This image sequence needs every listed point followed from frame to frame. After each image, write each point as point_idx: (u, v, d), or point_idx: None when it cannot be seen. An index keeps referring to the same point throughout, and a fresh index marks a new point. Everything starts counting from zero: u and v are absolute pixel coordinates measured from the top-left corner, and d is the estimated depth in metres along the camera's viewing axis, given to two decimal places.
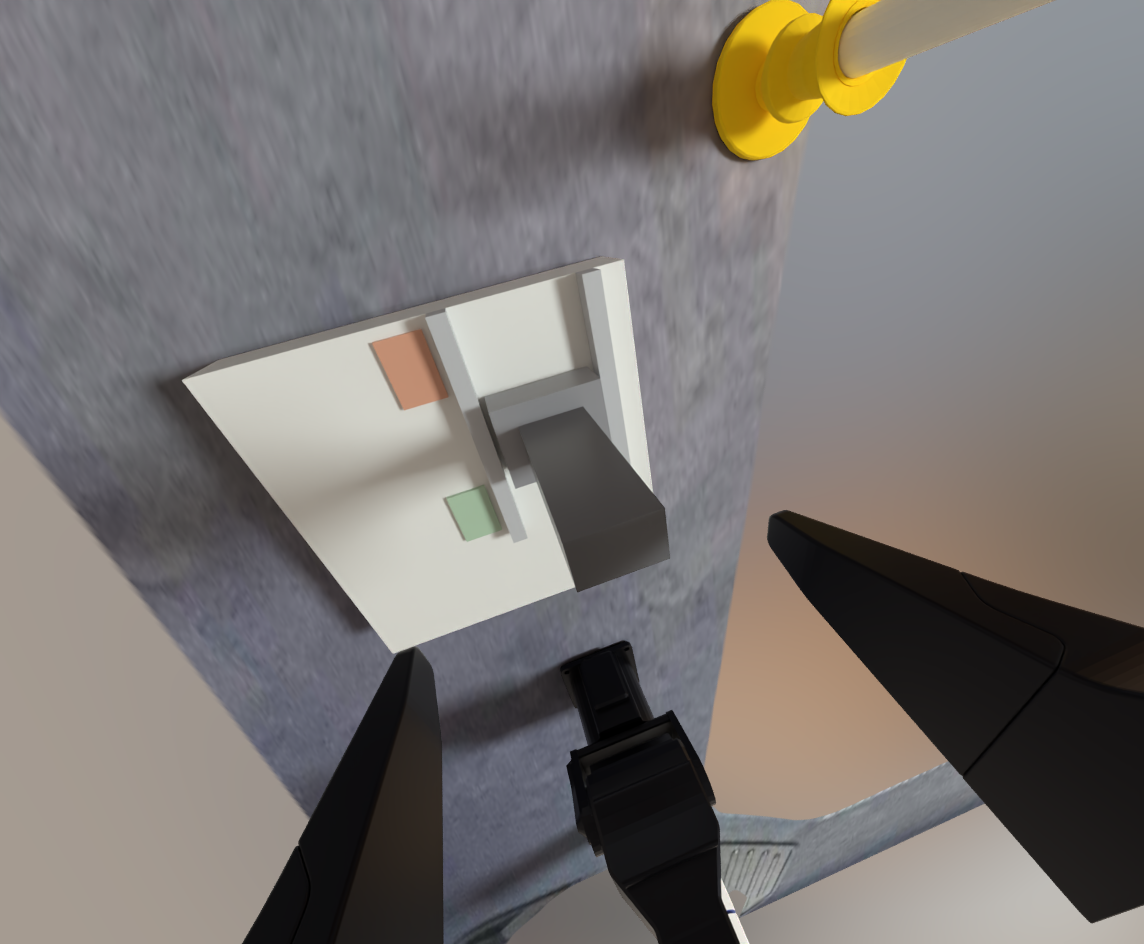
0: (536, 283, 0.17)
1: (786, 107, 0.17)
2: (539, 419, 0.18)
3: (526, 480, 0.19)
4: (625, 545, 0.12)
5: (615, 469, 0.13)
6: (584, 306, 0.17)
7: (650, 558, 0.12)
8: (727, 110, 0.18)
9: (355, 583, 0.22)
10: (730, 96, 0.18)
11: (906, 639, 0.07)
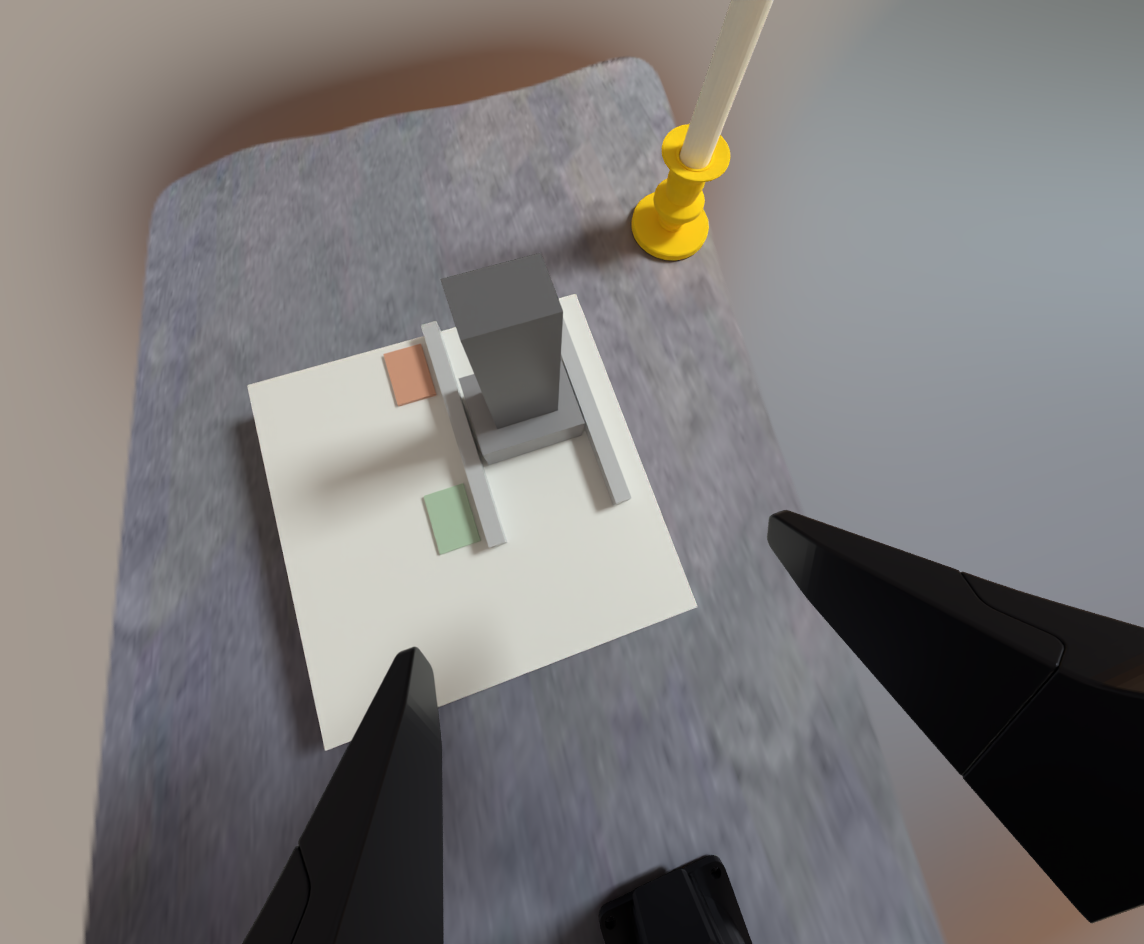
0: None
1: (675, 212, 0.25)
2: None
3: (494, 446, 0.19)
4: (506, 288, 0.12)
5: None
6: None
7: (539, 308, 0.12)
8: (644, 236, 0.27)
9: (311, 607, 0.19)
10: (643, 229, 0.27)
11: (906, 639, 0.07)
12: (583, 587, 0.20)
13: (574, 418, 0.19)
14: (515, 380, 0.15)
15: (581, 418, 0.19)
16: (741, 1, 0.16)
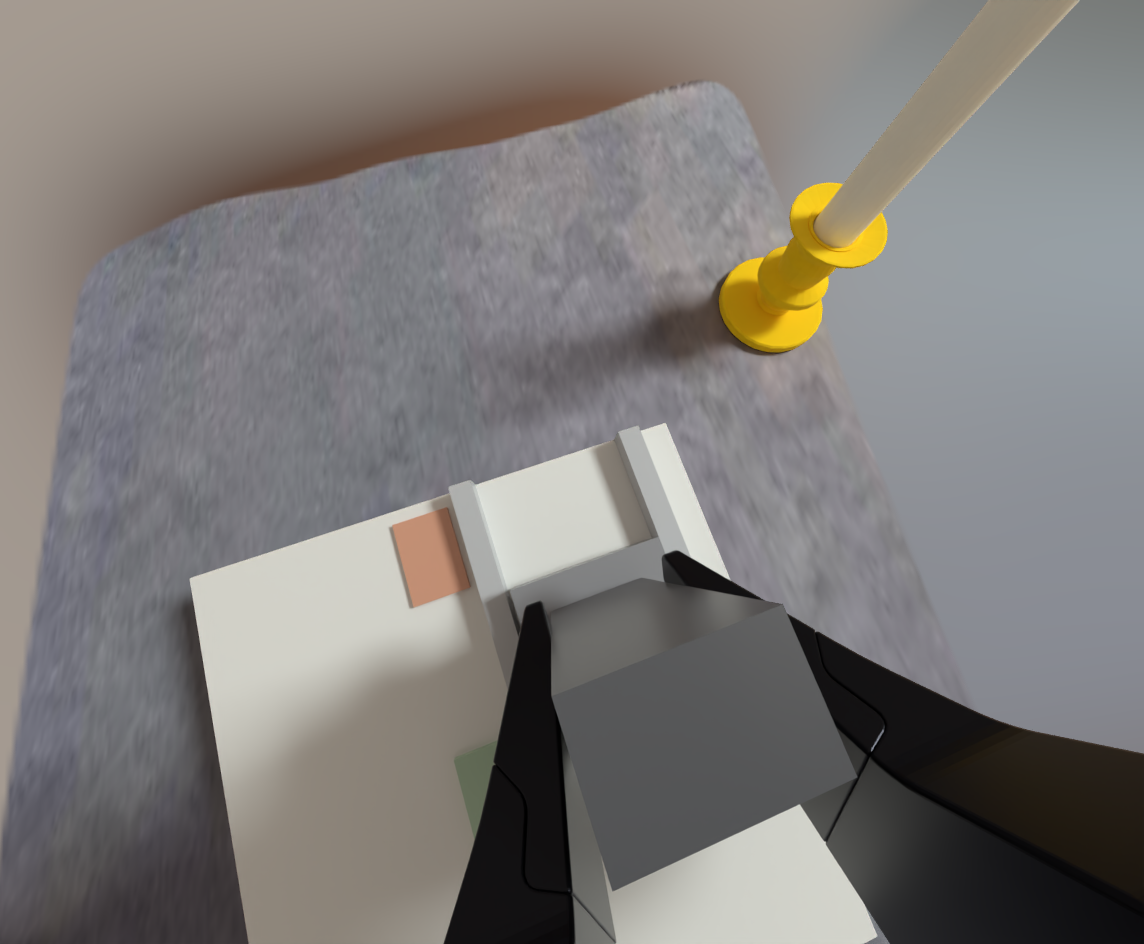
0: (573, 454, 0.16)
1: (792, 297, 0.18)
2: (580, 599, 0.13)
3: None
4: (714, 714, 0.05)
5: (680, 599, 0.07)
6: (628, 467, 0.15)
7: (799, 772, 0.05)
8: (739, 321, 0.20)
9: None
10: (738, 312, 0.20)
11: None
12: (701, 907, 0.13)
13: None
14: None
15: None
16: (1018, 10, 0.09)
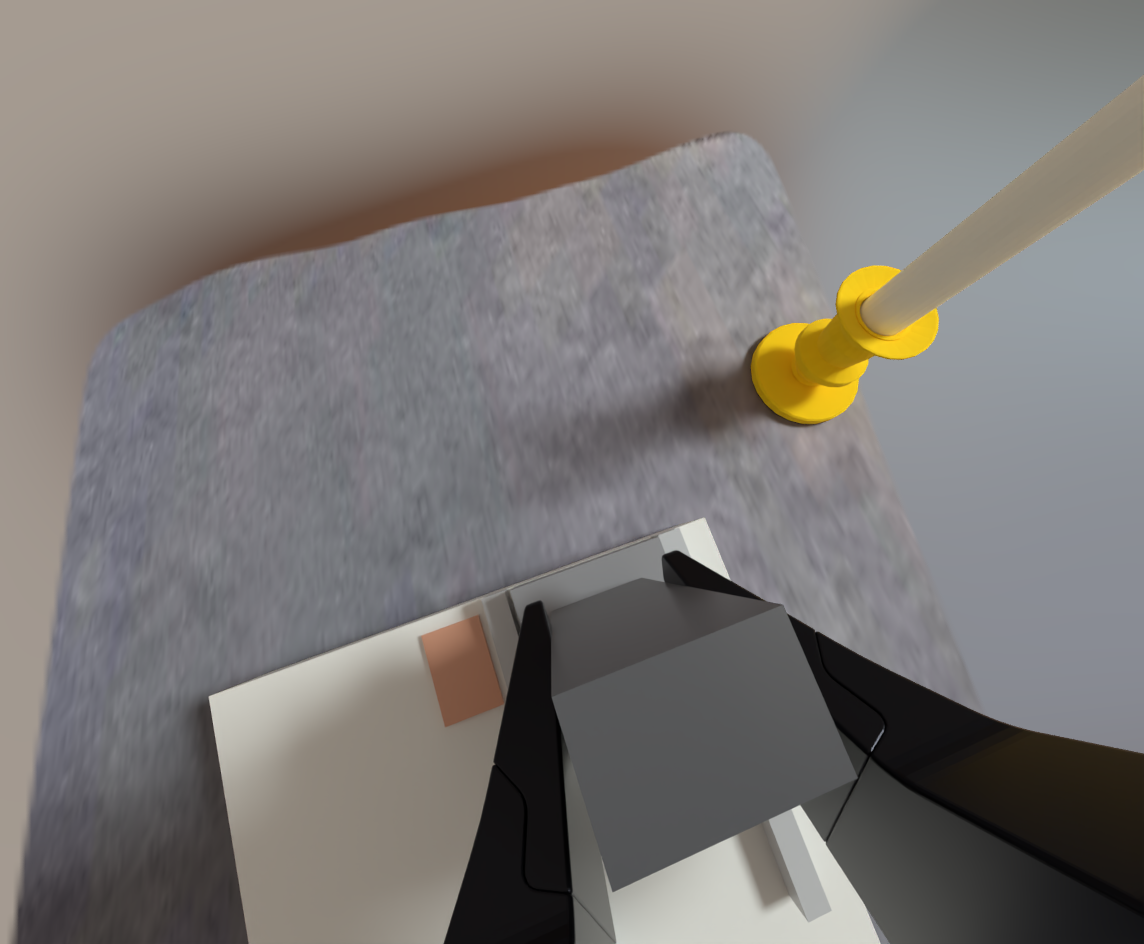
0: (608, 552, 0.15)
1: (831, 375, 0.18)
2: (580, 599, 0.13)
3: None
4: (714, 714, 0.05)
5: (680, 599, 0.07)
6: None
7: (800, 772, 0.05)
8: (773, 392, 0.19)
9: None
10: (772, 383, 0.20)
11: None
12: None
13: None
14: None
15: None
16: (1121, 145, 0.09)
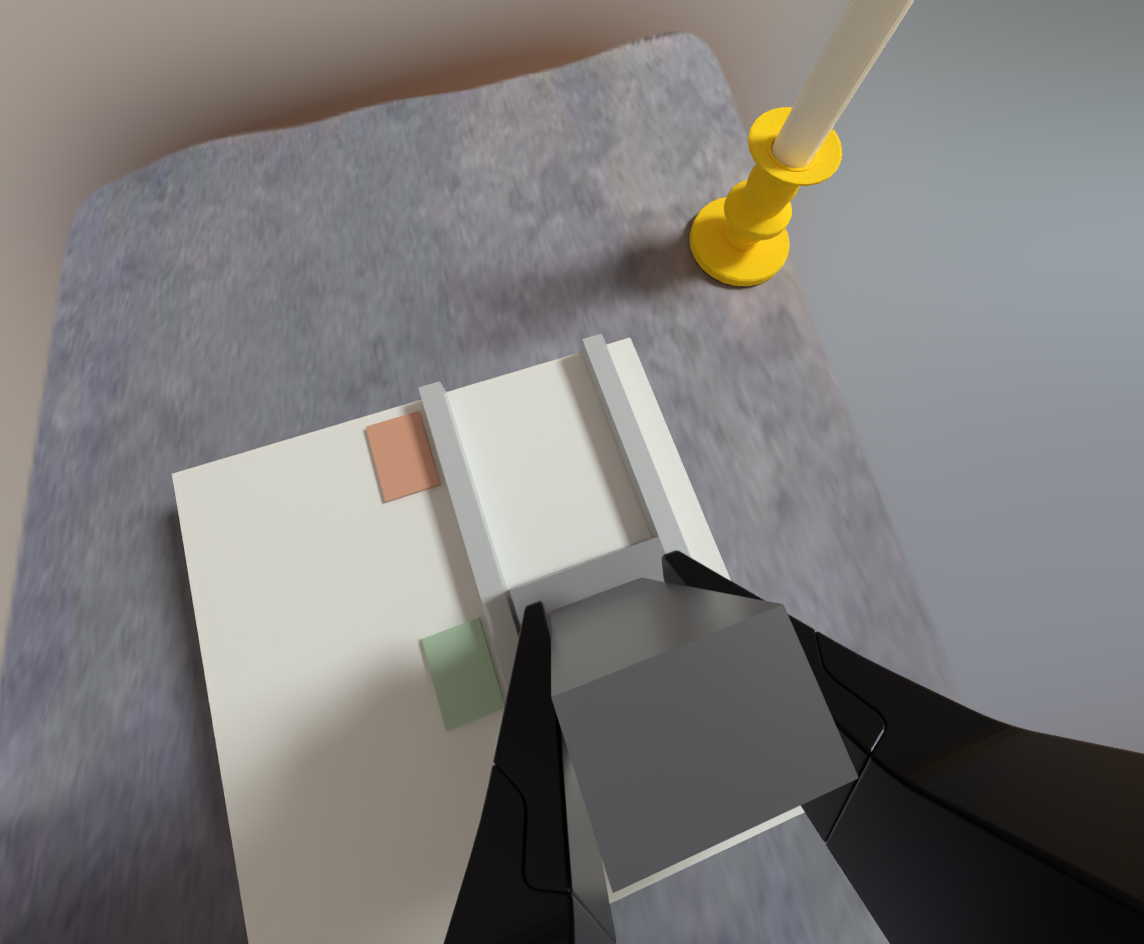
0: (541, 365, 0.17)
1: (755, 225, 0.19)
2: (580, 599, 0.13)
3: None
4: (715, 715, 0.05)
5: (680, 599, 0.07)
6: (592, 374, 0.16)
7: (800, 773, 0.05)
8: (708, 255, 0.21)
9: (253, 819, 0.13)
10: (707, 247, 0.21)
11: None
12: None
13: None
14: None
15: None
16: None
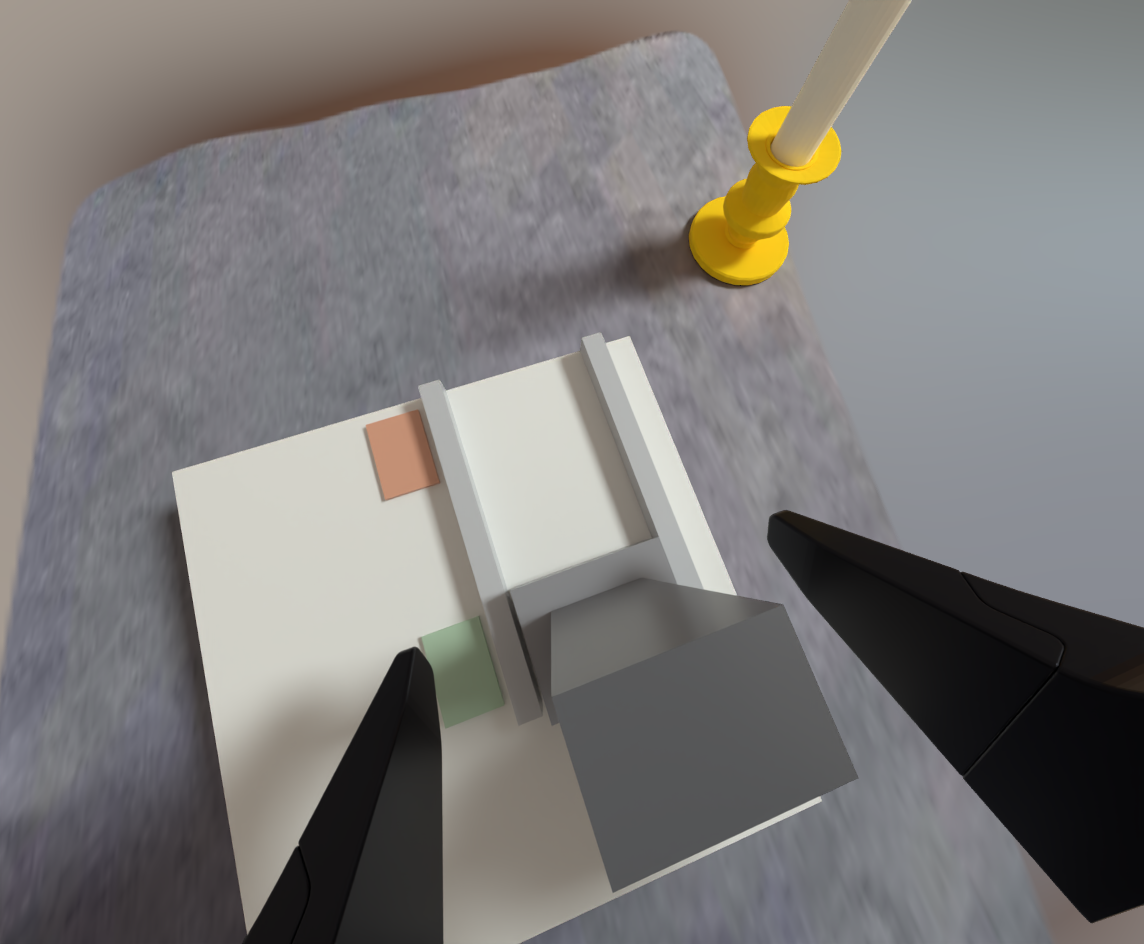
0: (540, 364, 0.17)
1: (755, 224, 0.19)
2: (580, 599, 0.13)
3: None
4: (715, 715, 0.05)
5: (680, 599, 0.07)
6: (591, 373, 0.16)
7: (800, 773, 0.05)
8: (707, 254, 0.21)
9: (253, 817, 0.13)
10: (706, 246, 0.21)
11: (906, 639, 0.07)
12: None
13: None
14: None
15: None
16: None
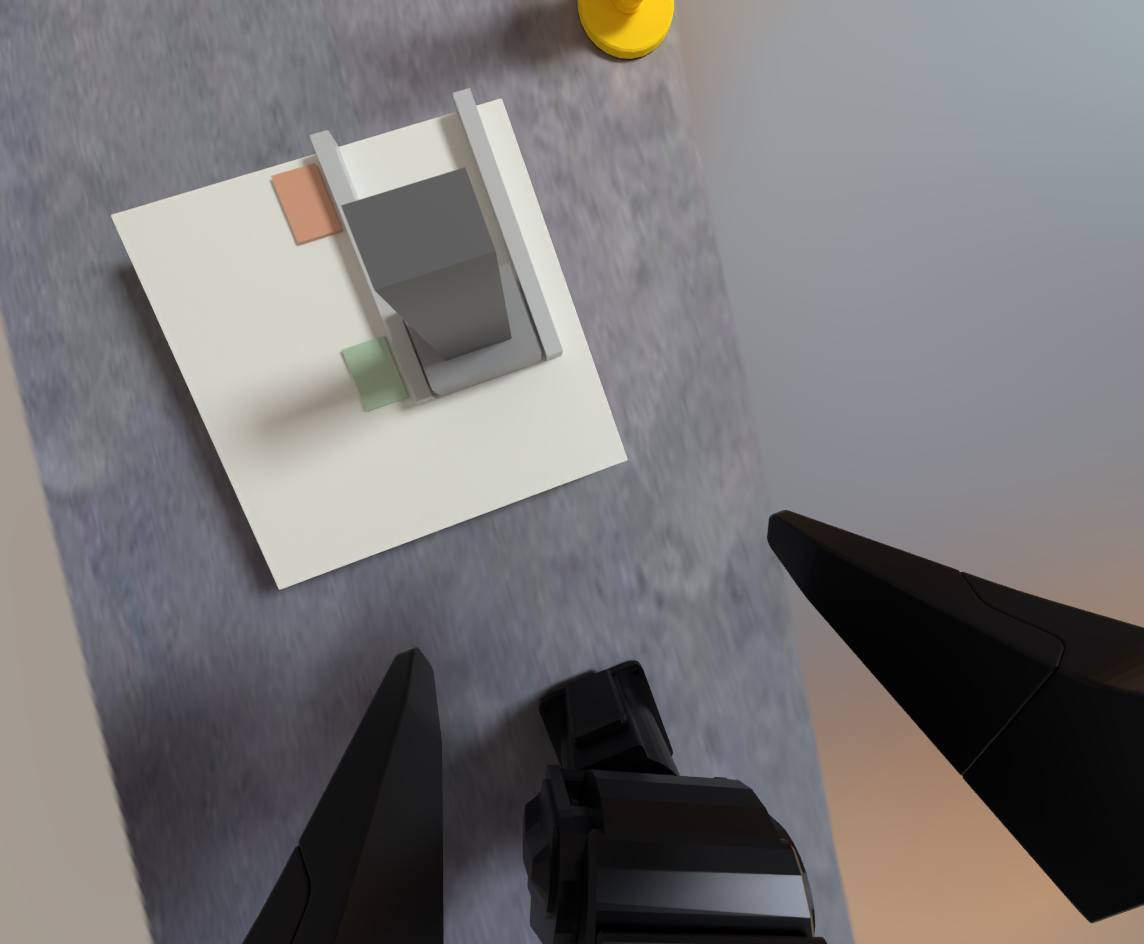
0: (422, 124, 0.19)
1: None
2: None
3: (443, 380, 0.18)
4: (425, 219, 0.10)
5: None
6: (464, 131, 0.18)
7: (467, 246, 0.10)
8: (592, 19, 0.21)
9: (240, 464, 0.19)
10: (592, 9, 0.21)
11: (906, 639, 0.07)
12: (516, 442, 0.20)
13: (529, 347, 0.18)
14: (454, 318, 0.13)
15: (537, 347, 0.18)
16: None
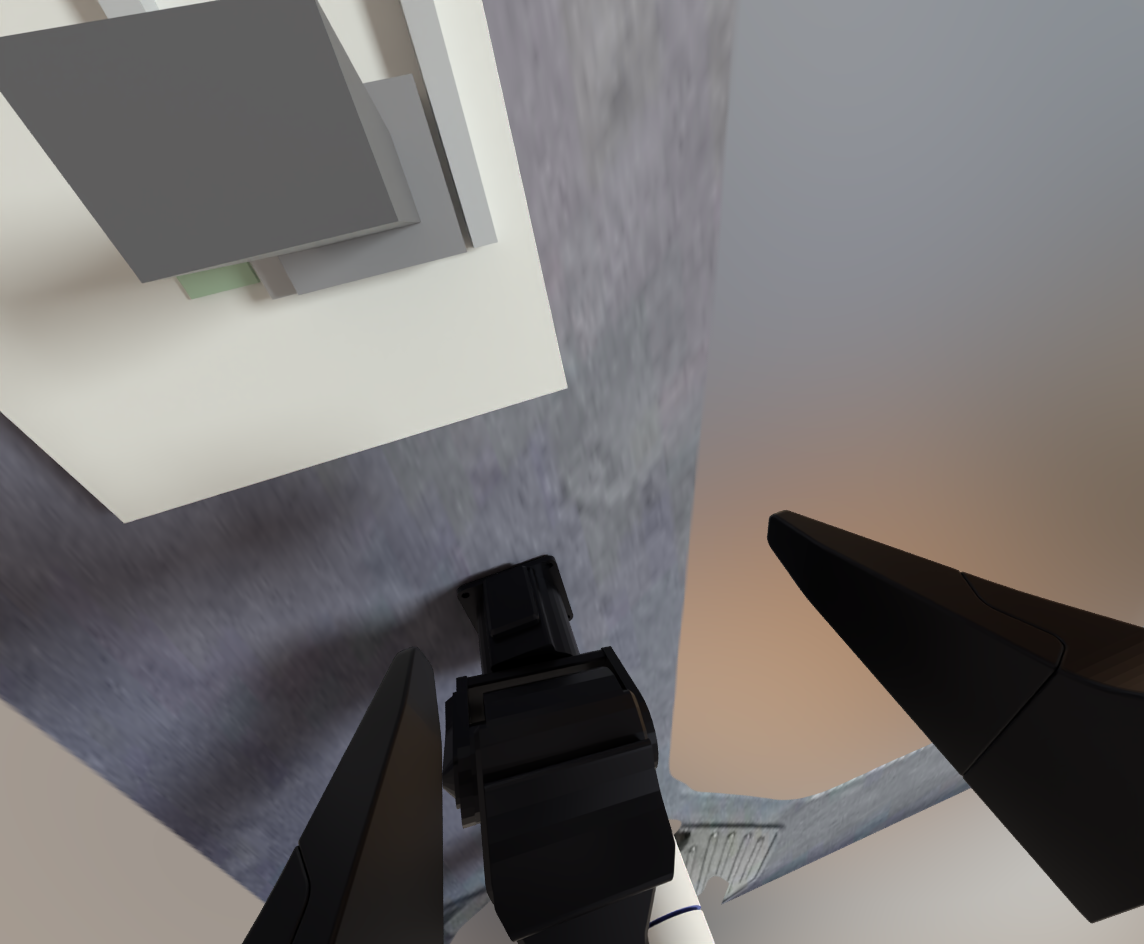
0: None
1: None
2: None
3: (315, 280, 0.12)
4: (227, 122, 0.04)
5: None
6: None
7: (337, 205, 0.05)
8: None
9: None
10: None
11: (906, 639, 0.07)
12: (430, 359, 0.16)
13: (449, 241, 0.12)
14: (324, 243, 0.08)
15: (461, 243, 0.12)
16: None
